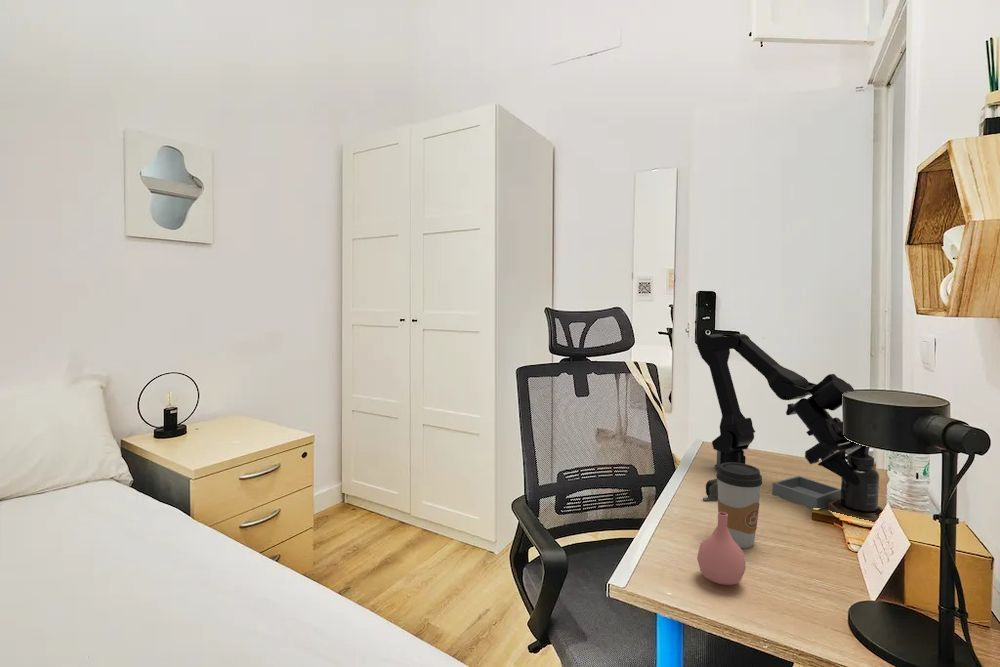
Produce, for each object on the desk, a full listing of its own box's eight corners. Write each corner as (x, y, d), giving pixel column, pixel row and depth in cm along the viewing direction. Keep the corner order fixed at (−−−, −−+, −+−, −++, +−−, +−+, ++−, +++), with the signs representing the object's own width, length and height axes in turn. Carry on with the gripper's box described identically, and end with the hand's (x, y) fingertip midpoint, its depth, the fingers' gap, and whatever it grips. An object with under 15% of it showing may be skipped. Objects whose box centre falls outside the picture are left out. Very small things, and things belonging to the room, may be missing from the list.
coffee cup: (741, 555, 94) (744, 478, 93) (705, 536, 101) (707, 465, 100) (769, 545, 98) (772, 471, 97) (732, 527, 105) (734, 459, 104)
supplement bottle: (870, 504, 113) (874, 453, 112) (882, 517, 107) (886, 462, 106) (835, 500, 115) (838, 450, 114) (845, 512, 109) (848, 459, 108)
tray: (772, 494, 123) (772, 482, 123) (797, 486, 128) (798, 475, 128) (816, 510, 114) (816, 498, 114) (842, 501, 119) (842, 489, 119)
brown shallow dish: (847, 526, 106) (847, 518, 106) (820, 505, 117) (820, 497, 117) (901, 529, 105) (901, 520, 105) (869, 507, 116) (869, 500, 116)
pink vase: (754, 584, 84) (757, 516, 84) (728, 599, 80) (730, 528, 79) (713, 564, 91) (715, 500, 90) (687, 576, 87) (689, 510, 86)
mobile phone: (755, 476, 123) (699, 477, 121) (763, 480, 120) (706, 482, 118) (754, 495, 124) (698, 497, 121) (762, 500, 121) (705, 502, 118)
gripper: (822, 406, 108) (875, 472, 99) (867, 398, 117) (920, 458, 108) (785, 432, 116) (831, 495, 107) (830, 423, 124) (877, 480, 116)
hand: (866, 481), depth 109 cm, fingers closed on supplement bottle, 7 cm apart
